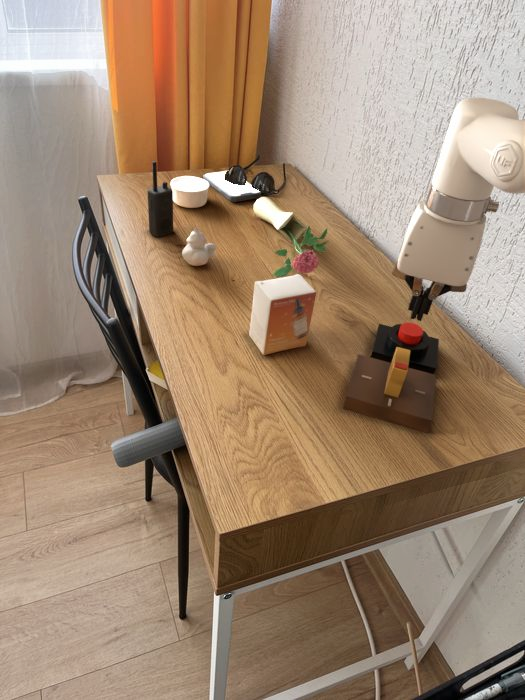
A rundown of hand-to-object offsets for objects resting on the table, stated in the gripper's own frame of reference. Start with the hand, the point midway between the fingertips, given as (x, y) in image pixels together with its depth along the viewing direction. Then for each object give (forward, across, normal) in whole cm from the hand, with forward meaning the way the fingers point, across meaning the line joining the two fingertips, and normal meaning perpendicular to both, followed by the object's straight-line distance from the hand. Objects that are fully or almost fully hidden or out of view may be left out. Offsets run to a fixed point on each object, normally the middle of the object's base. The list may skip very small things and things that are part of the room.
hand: (416, 315), depth 81 cm
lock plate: (+8, +1, +11) cm, 14 cm away
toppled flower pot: (+8, +27, -23) cm, 36 cm away
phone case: (+8, +48, -49) cm, 69 cm away
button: (+5, 0, 0) cm, 5 cm away
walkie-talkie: (+8, +53, -20) cm, 57 cm away
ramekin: (+8, +54, -37) cm, 66 cm away
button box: (+8, 0, 0) cm, 8 cm away
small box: (+8, +20, +5) cm, 22 cm away
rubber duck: (+8, +41, -12) cm, 43 cm away
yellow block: (+6, +1, +11) cm, 12 cm away
